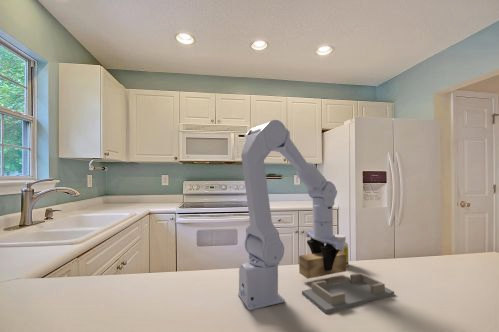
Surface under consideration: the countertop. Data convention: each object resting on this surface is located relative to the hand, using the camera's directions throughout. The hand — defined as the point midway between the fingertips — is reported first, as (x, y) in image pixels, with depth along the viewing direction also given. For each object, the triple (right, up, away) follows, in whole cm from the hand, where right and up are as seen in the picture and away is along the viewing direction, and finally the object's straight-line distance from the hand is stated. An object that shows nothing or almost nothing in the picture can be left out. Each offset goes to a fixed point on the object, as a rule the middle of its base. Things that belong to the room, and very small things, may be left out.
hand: (323, 267), depth 68 cm
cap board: (+4, -3, -9) cm, 10 cm away
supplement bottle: (+10, -4, +11) cm, 15 cm away
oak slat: (0, -1, 0) cm, 1 cm away
